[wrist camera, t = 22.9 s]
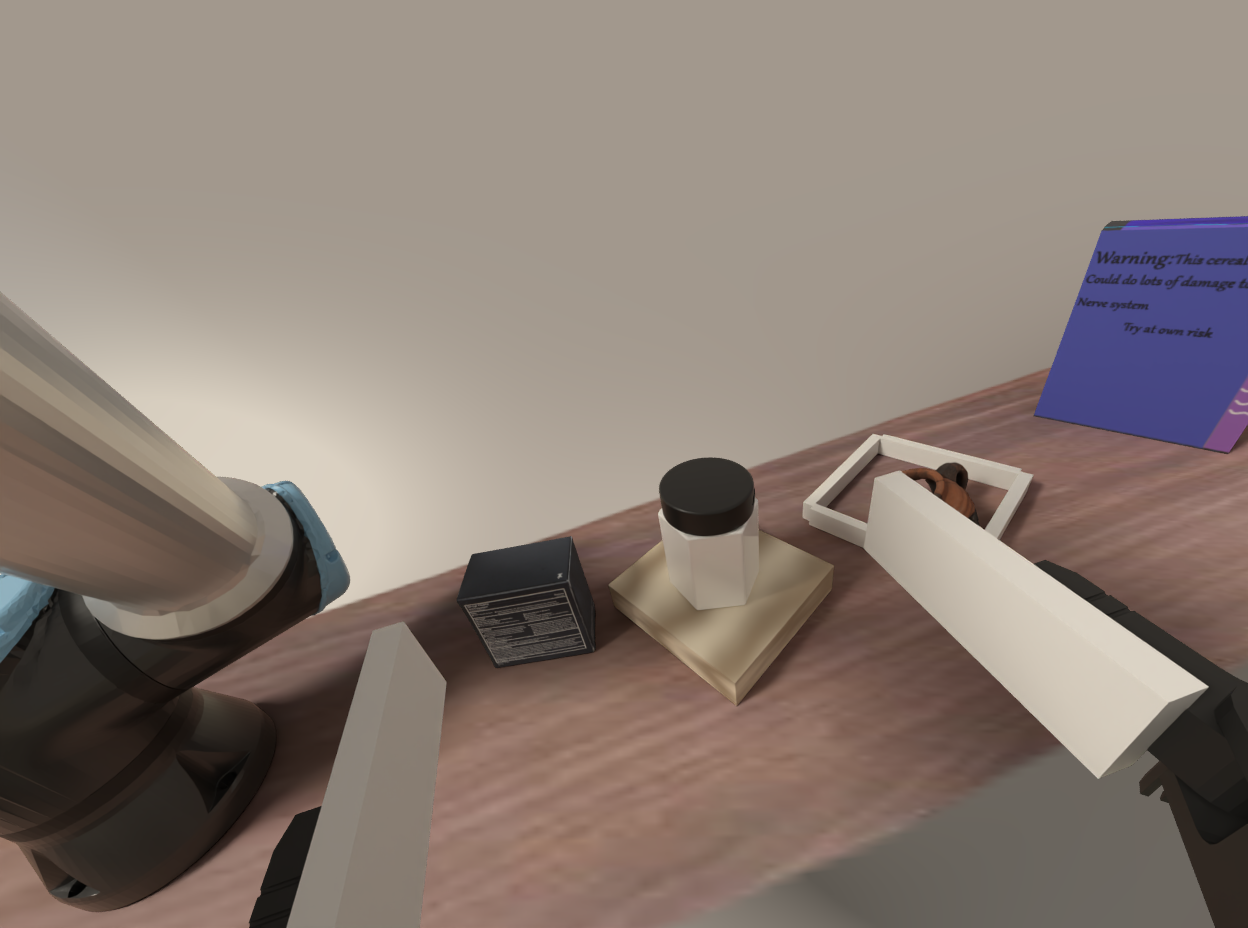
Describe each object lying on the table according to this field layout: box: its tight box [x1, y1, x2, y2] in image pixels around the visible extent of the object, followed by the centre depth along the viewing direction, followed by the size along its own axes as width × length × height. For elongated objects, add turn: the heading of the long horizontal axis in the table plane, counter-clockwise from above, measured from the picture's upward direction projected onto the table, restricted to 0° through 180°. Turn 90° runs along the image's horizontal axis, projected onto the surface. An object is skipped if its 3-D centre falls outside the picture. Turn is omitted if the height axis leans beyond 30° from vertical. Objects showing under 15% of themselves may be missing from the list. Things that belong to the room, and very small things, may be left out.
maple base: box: [608, 530, 834, 706], centre depth 46 cm, size 16×16×4 cm
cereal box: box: [1034, 216, 1248, 454], centre depth 52 cm, size 17×5×24 cm, turn 41°
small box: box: [457, 536, 596, 668], centre depth 45 cm, size 11×6×10 cm, turn 93°
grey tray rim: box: [803, 434, 1033, 548], centre depth 53 cm, size 17×19×2 cm
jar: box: [658, 458, 759, 610], centre depth 42 cm, size 9×8×12 cm
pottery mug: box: [902, 462, 979, 526], centre depth 50 cm, size 12×10×8 cm
